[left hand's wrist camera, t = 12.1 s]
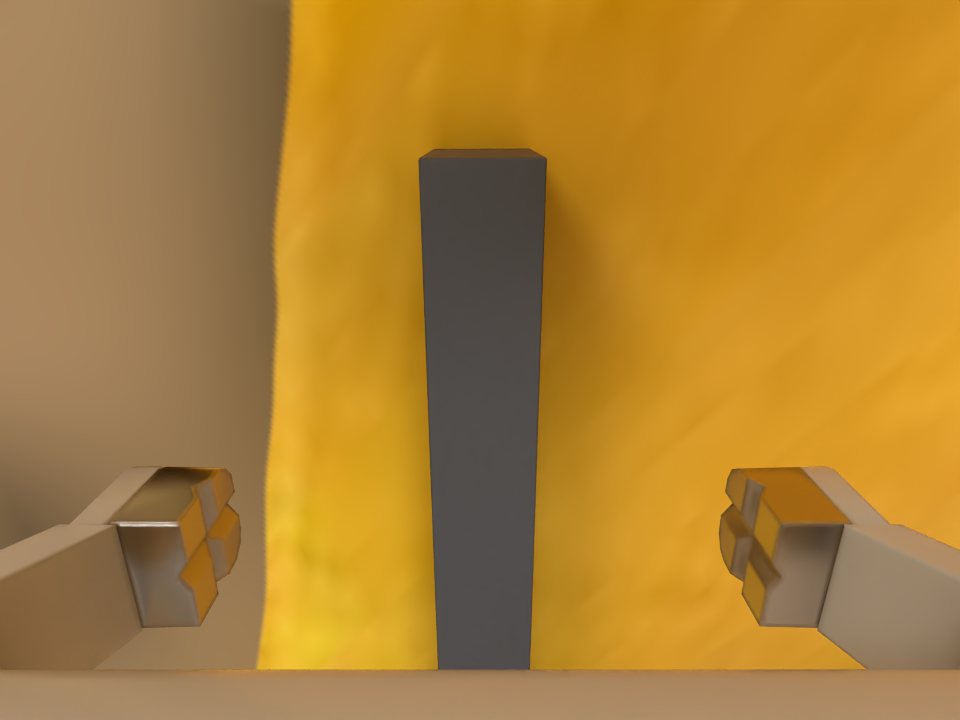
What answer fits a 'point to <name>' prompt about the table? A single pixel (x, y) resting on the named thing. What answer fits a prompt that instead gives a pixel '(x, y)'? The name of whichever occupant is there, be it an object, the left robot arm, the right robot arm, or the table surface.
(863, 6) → the table surface
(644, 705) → the left robot arm
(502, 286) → the bar
